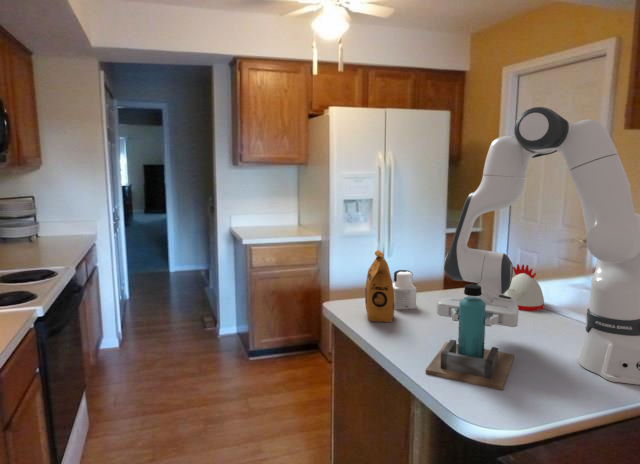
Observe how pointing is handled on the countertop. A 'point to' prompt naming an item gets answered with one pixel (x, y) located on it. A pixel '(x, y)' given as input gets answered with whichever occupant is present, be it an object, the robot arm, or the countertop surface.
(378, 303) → the coffee package
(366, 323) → the countertop surface
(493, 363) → the bottle dock
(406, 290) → the container
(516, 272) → the kitchen timer
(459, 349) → the beverage bottle
